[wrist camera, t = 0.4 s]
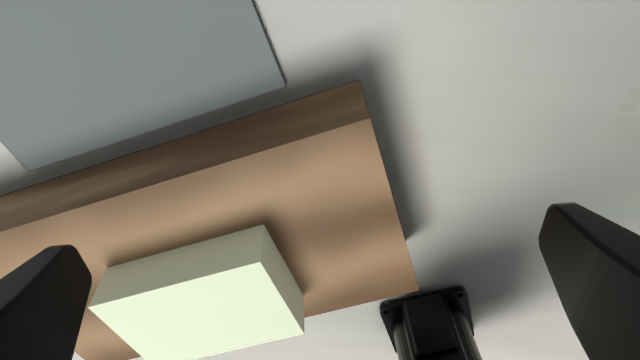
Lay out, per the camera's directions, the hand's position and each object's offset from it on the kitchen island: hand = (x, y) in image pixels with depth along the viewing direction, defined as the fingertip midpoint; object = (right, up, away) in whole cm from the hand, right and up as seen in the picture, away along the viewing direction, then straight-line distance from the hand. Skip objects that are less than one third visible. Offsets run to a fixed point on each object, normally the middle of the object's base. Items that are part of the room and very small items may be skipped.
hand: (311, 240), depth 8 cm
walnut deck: (-7, -1, +18) cm, 19 cm away
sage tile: (-6, -5, +15) cm, 17 cm away
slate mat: (-10, +8, +11) cm, 17 cm away
